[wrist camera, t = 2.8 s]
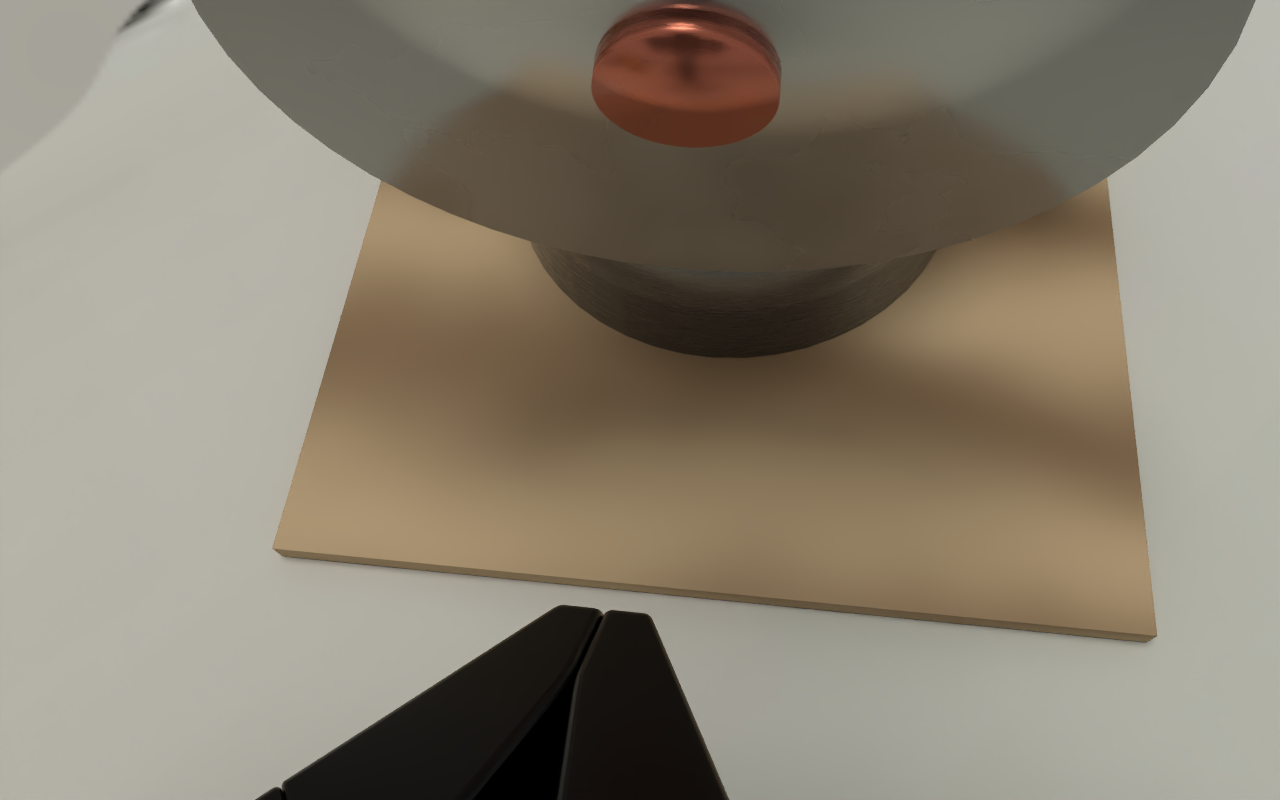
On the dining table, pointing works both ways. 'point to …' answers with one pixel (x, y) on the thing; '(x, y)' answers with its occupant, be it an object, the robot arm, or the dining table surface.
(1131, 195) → the dining table surface
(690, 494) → the board
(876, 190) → the lid
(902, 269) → the cooker
